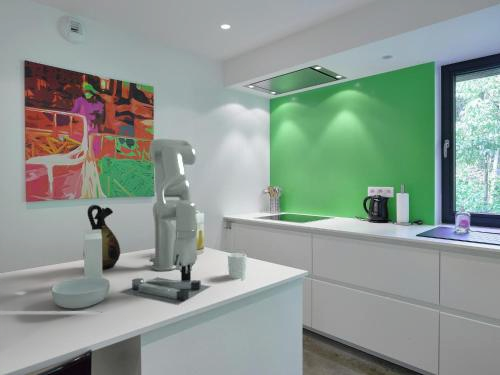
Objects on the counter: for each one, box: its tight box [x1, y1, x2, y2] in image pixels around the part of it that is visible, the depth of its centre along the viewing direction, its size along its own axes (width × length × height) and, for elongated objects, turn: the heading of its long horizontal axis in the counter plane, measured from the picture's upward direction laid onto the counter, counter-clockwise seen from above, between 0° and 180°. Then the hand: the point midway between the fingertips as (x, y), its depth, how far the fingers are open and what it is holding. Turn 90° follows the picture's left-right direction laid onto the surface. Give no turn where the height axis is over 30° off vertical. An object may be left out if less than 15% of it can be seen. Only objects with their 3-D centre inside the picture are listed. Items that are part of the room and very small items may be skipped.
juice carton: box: [196, 210, 205, 255], centre depth 182 cm, size 9×8×24 cm
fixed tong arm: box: [139, 283, 189, 302], centre depth 114 cm, size 20×3×3 cm, turn 65°
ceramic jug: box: [83, 204, 121, 271], centre depth 148 cm, size 17×15×30 cm
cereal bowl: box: [51, 277, 111, 310], centre depth 107 cm, size 17×17×7 cm
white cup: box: [227, 252, 248, 281], centre depth 137 cm, size 8×8×10 cm
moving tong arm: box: [131, 277, 202, 290], centre depth 120 cm, size 25×5×3 cm, turn 86°
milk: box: [83, 229, 103, 278], centre depth 126 cm, size 6×6×22 cm
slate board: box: [119, 277, 211, 306], centre depth 120 cm, size 26×20×1 cm
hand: (185, 282), depth 124 cm, fingers closed
